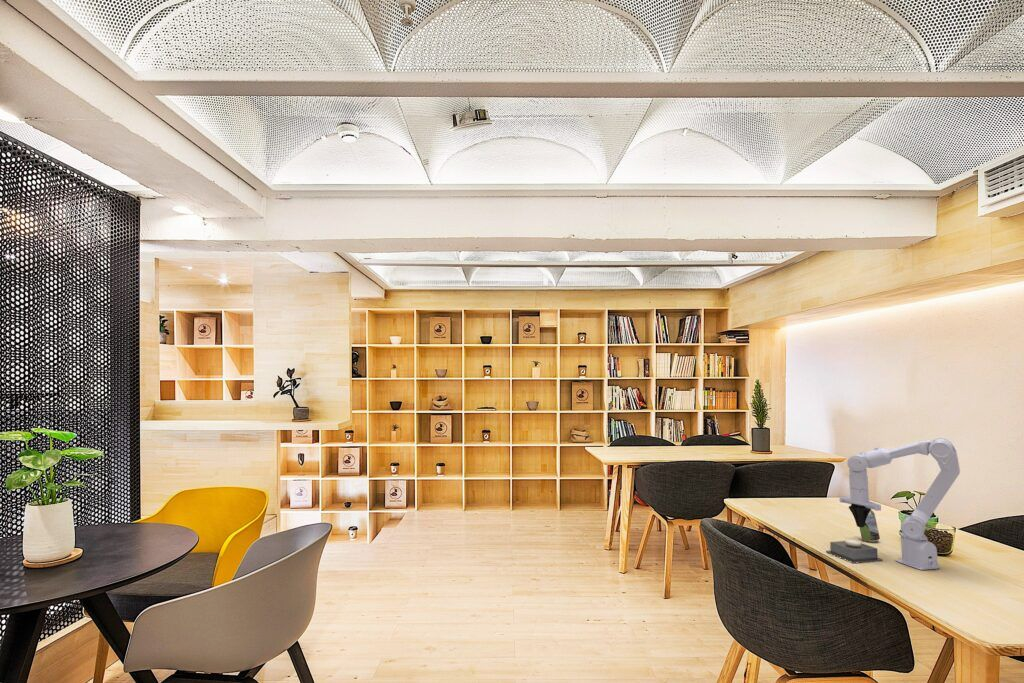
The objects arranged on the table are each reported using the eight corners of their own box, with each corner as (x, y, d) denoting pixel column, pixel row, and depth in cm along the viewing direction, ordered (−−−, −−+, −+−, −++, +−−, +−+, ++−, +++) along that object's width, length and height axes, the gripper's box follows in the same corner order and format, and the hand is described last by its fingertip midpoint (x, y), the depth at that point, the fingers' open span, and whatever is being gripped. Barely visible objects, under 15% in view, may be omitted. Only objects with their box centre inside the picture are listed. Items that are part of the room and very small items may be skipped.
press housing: (882, 561, 187) (882, 549, 188) (853, 563, 185) (853, 551, 185) (853, 550, 199) (853, 539, 199) (826, 552, 196) (825, 541, 197)
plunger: (865, 556, 190) (864, 542, 190) (853, 557, 189) (853, 542, 189) (853, 552, 195) (853, 537, 195) (842, 553, 194) (841, 538, 194)
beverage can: (879, 544, 207) (878, 512, 207) (856, 540, 211) (855, 509, 212) (880, 540, 212) (879, 509, 212) (858, 537, 216) (857, 506, 217)
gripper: (886, 491, 190) (888, 530, 189) (848, 484, 204) (850, 520, 203) (872, 492, 188) (873, 532, 187) (834, 485, 202) (836, 522, 201)
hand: (860, 526), depth 195 cm, fingers closed
